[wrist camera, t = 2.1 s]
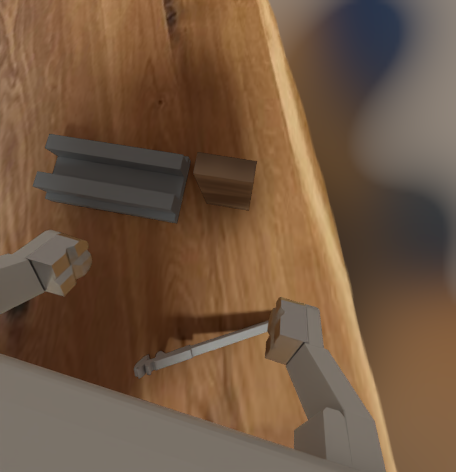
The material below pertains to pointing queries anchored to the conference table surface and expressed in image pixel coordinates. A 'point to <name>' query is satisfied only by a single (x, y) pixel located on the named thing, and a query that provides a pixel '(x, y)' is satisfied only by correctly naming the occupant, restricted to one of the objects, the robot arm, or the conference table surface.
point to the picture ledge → (115, 178)
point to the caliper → (195, 349)
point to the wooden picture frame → (225, 180)
